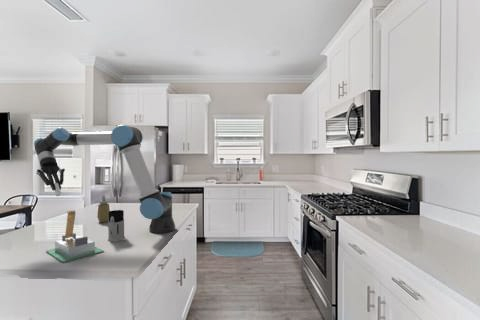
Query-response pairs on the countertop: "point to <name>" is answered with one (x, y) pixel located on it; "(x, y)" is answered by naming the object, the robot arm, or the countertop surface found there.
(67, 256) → the green base fixture
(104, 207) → the squeeze bottle
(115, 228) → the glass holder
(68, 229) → the tan rectangular bar
